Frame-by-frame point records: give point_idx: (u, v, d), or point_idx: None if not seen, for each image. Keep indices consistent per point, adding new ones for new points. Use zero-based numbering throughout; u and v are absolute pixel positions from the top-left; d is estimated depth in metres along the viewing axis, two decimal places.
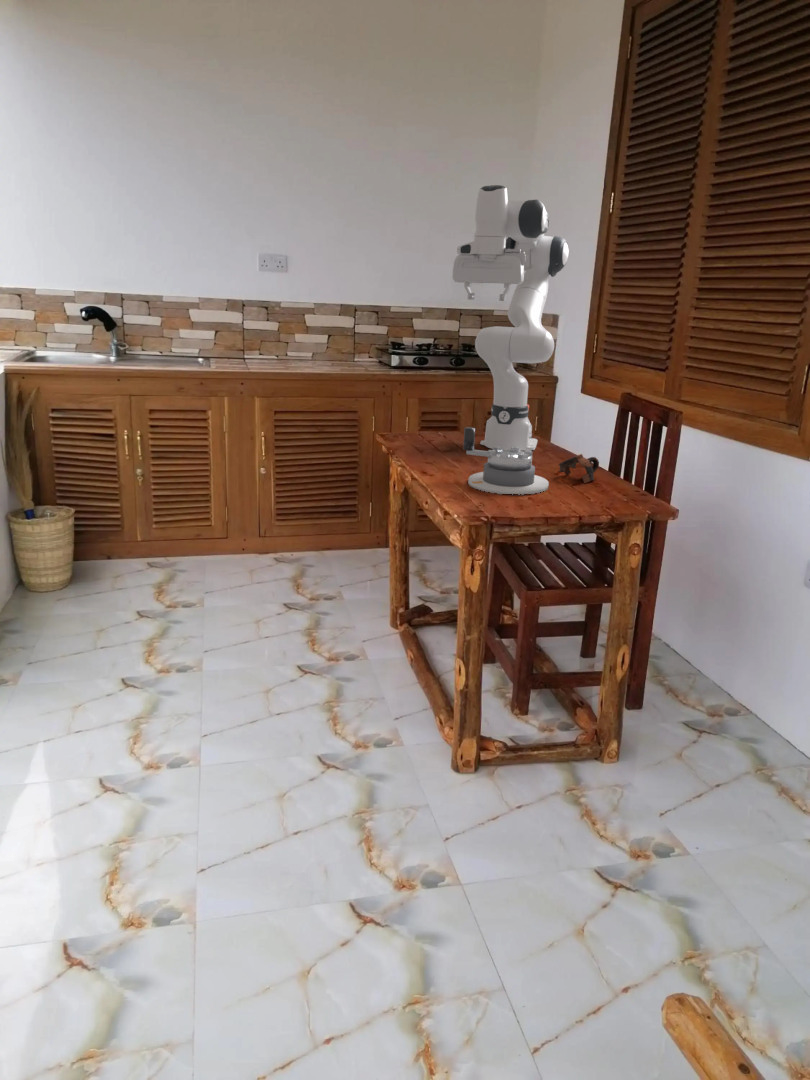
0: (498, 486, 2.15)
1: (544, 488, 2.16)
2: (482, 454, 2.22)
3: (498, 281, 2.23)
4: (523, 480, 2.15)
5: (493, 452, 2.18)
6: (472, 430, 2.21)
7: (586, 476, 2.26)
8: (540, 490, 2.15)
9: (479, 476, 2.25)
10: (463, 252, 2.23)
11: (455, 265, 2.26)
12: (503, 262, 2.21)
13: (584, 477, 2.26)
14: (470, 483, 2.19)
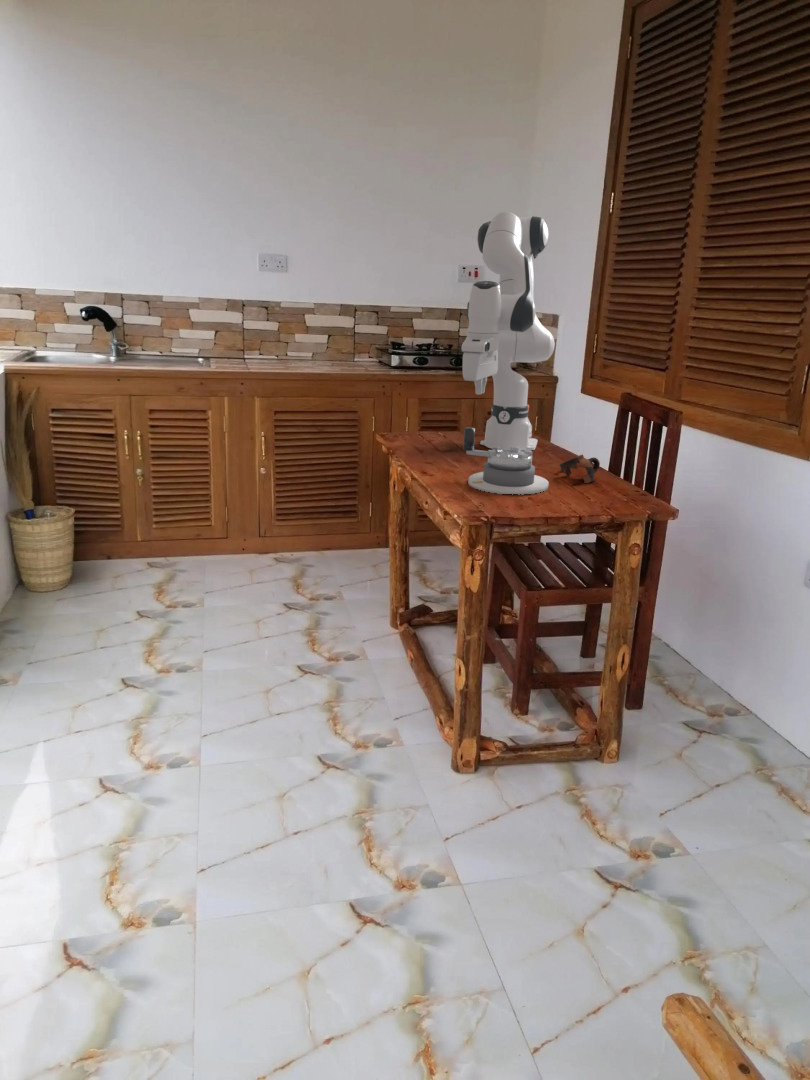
0: (498, 486, 2.15)
1: (544, 488, 2.16)
2: (482, 454, 2.22)
3: (491, 374, 2.26)
4: (523, 480, 2.15)
5: (493, 452, 2.18)
6: (472, 430, 2.21)
7: (587, 477, 2.25)
8: (540, 490, 2.15)
9: (479, 476, 2.25)
10: (486, 350, 2.15)
11: (478, 364, 2.14)
12: (493, 355, 2.26)
13: (585, 478, 2.25)
14: (470, 483, 2.19)
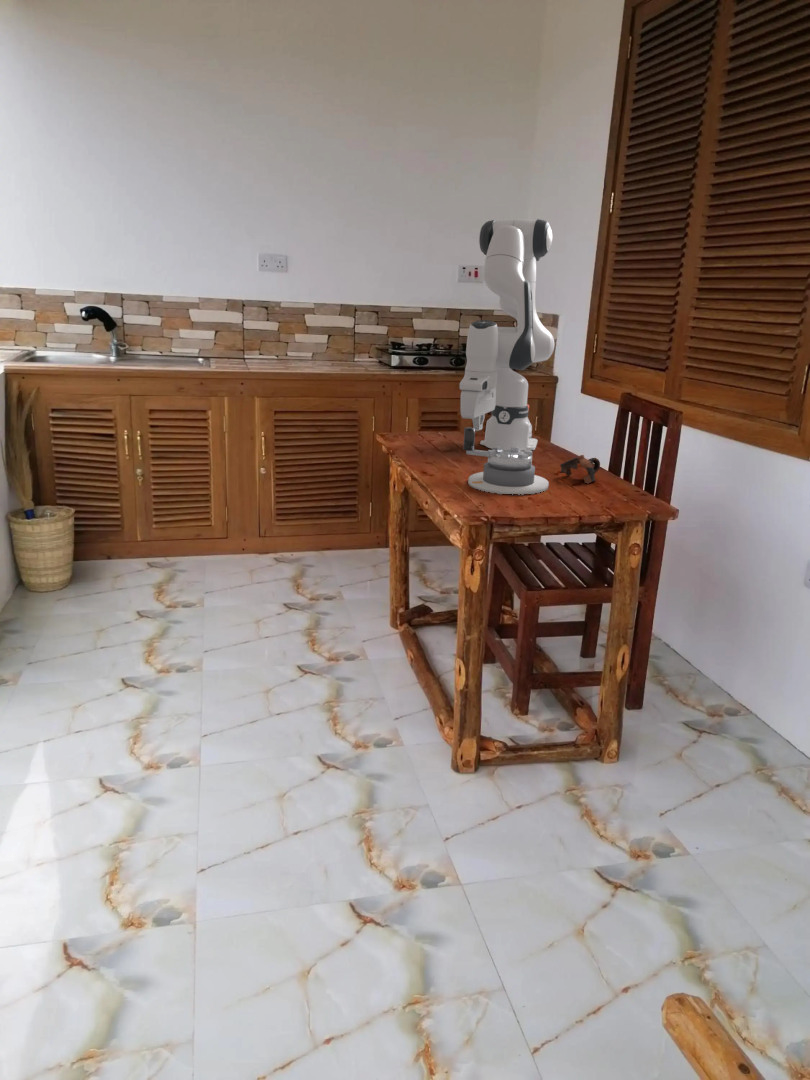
0: (498, 486, 2.15)
1: (544, 488, 2.16)
2: (482, 454, 2.22)
3: (488, 411, 2.29)
4: (523, 480, 2.15)
5: (493, 452, 2.18)
6: (472, 430, 2.21)
7: (587, 477, 2.25)
8: (540, 490, 2.15)
9: (479, 476, 2.25)
10: (483, 389, 2.18)
11: (476, 402, 2.17)
12: (491, 392, 2.29)
13: (586, 478, 2.25)
14: (470, 483, 2.19)
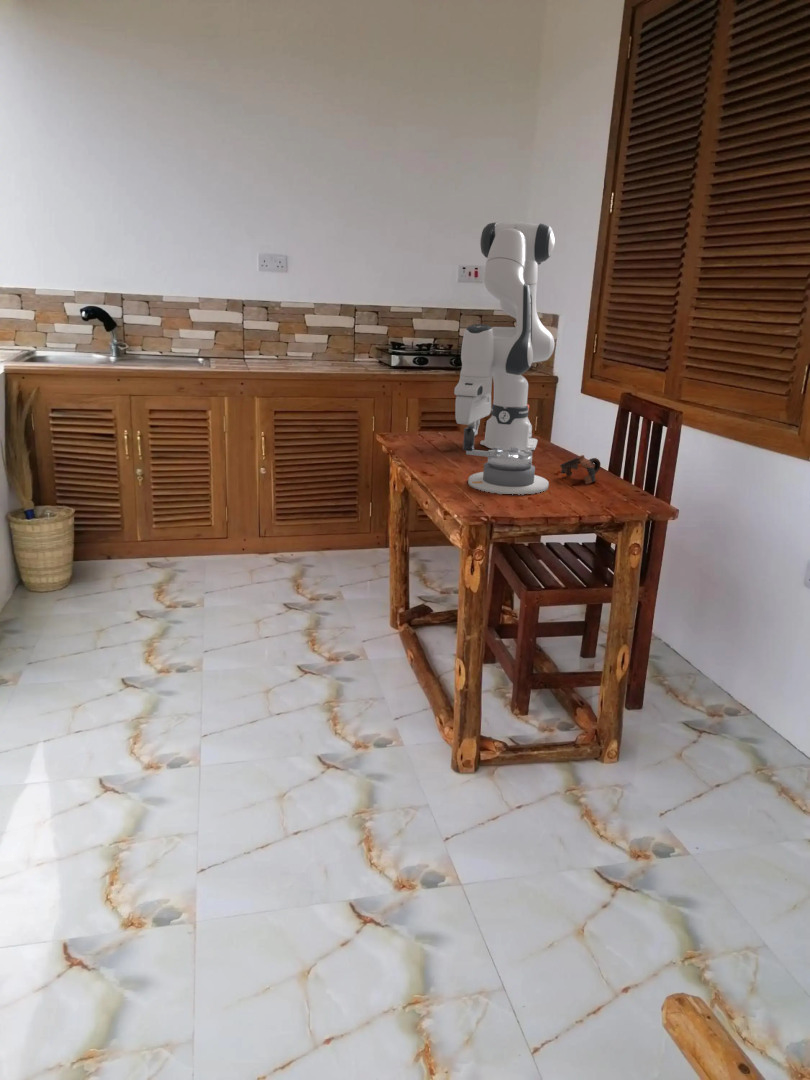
0: (498, 486, 2.15)
1: (544, 488, 2.16)
2: (482, 454, 2.22)
3: (484, 416, 2.26)
4: (523, 480, 2.15)
5: (493, 452, 2.18)
6: (472, 430, 2.21)
7: (588, 477, 2.25)
8: (540, 490, 2.15)
9: (479, 476, 2.25)
10: (478, 394, 2.15)
11: (471, 408, 2.14)
12: (486, 397, 2.26)
13: (586, 478, 2.24)
14: (470, 483, 2.19)
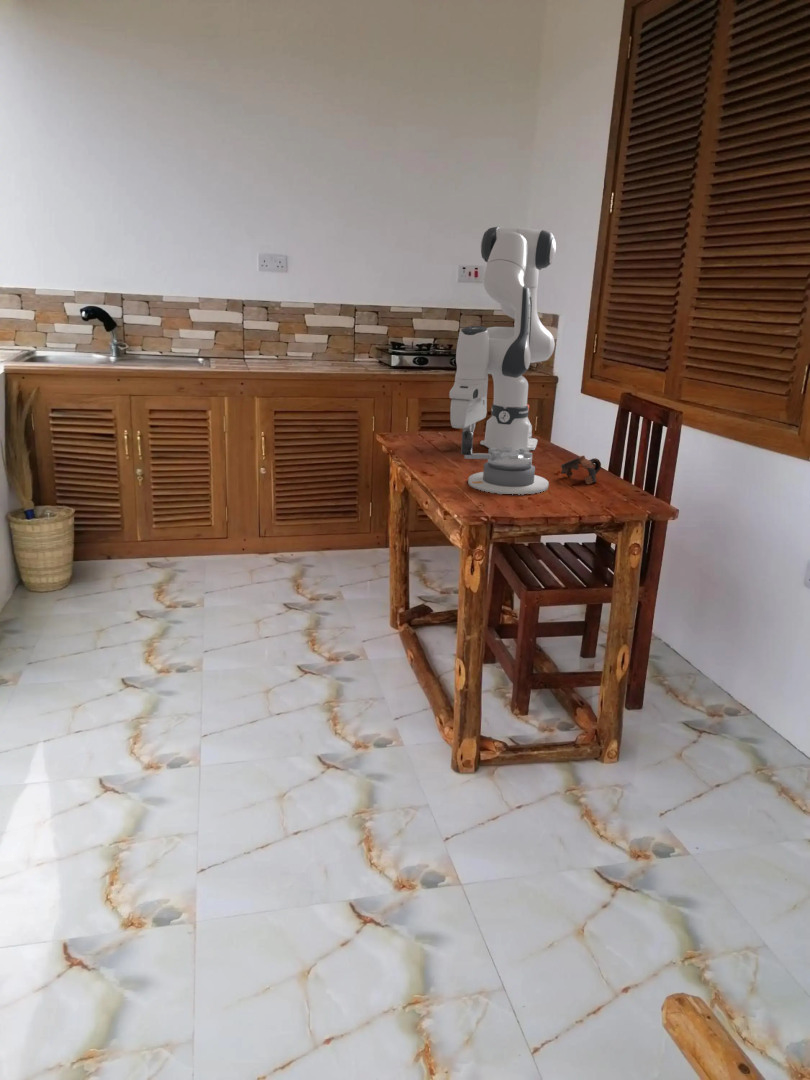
0: (498, 486, 2.15)
1: (544, 488, 2.16)
2: (482, 457, 2.18)
3: (479, 419, 2.22)
4: (523, 480, 2.15)
5: (498, 454, 2.16)
6: (472, 434, 2.16)
7: (589, 478, 2.24)
8: (540, 490, 2.15)
9: (479, 476, 2.25)
10: (474, 397, 2.10)
11: (467, 412, 2.09)
12: (482, 400, 2.21)
13: (587, 479, 2.24)
14: (470, 483, 2.19)
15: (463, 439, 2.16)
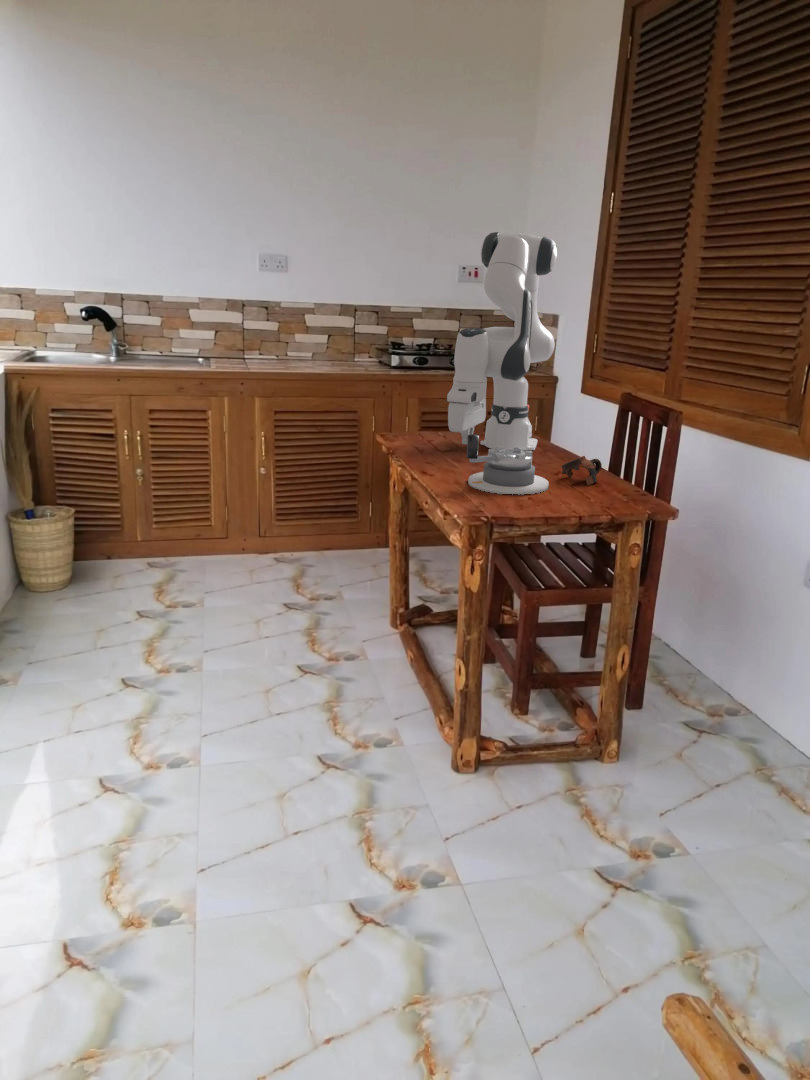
0: (498, 486, 2.15)
1: (544, 488, 2.16)
2: (487, 459, 2.16)
3: (478, 422, 2.18)
4: (523, 480, 2.15)
5: (505, 455, 2.15)
6: (478, 437, 2.12)
7: (589, 478, 2.24)
8: (540, 490, 2.15)
9: (479, 476, 2.25)
10: (472, 401, 2.06)
11: (465, 415, 2.05)
12: (481, 403, 2.17)
13: (588, 479, 2.24)
14: (470, 483, 2.19)
15: (470, 443, 2.12)
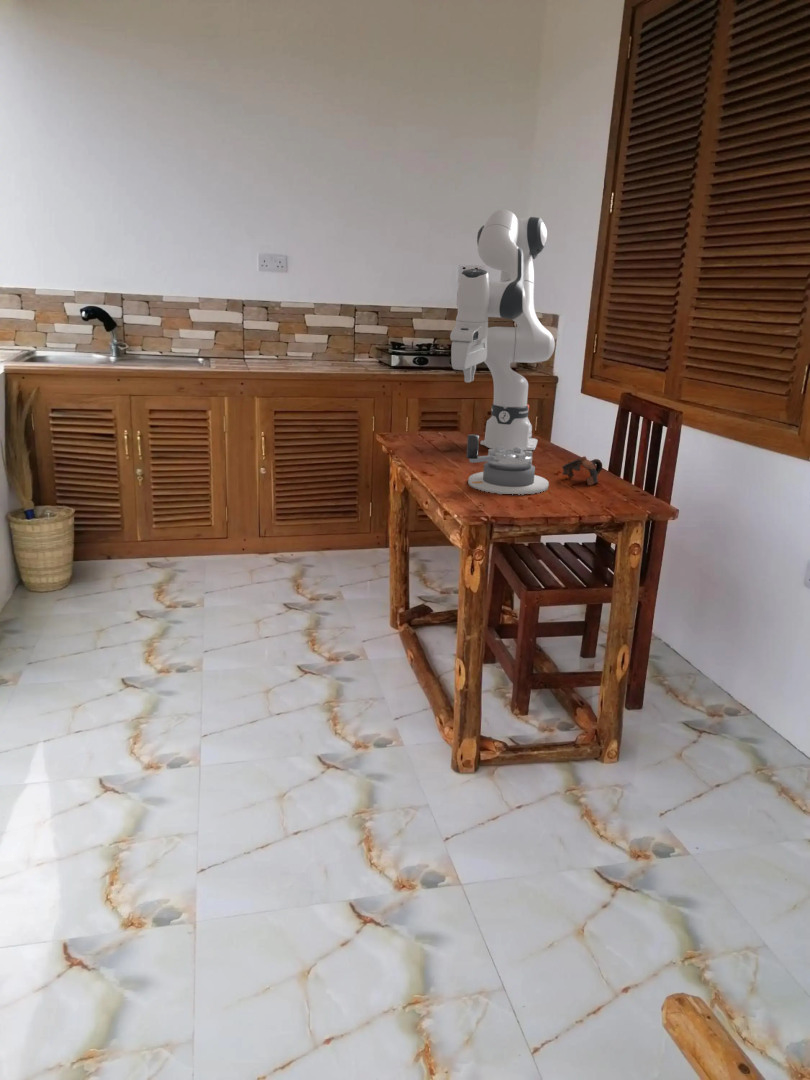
0: (498, 486, 2.15)
1: (544, 488, 2.16)
2: (487, 459, 2.16)
3: (480, 361, 2.27)
4: (523, 480, 2.15)
5: (505, 455, 2.15)
6: (478, 437, 2.12)
7: (590, 479, 2.23)
8: (540, 490, 2.15)
9: (479, 476, 2.25)
10: (474, 339, 2.15)
11: (467, 353, 2.15)
12: (482, 342, 2.26)
13: (589, 480, 2.23)
14: (470, 483, 2.19)
15: (470, 443, 2.12)
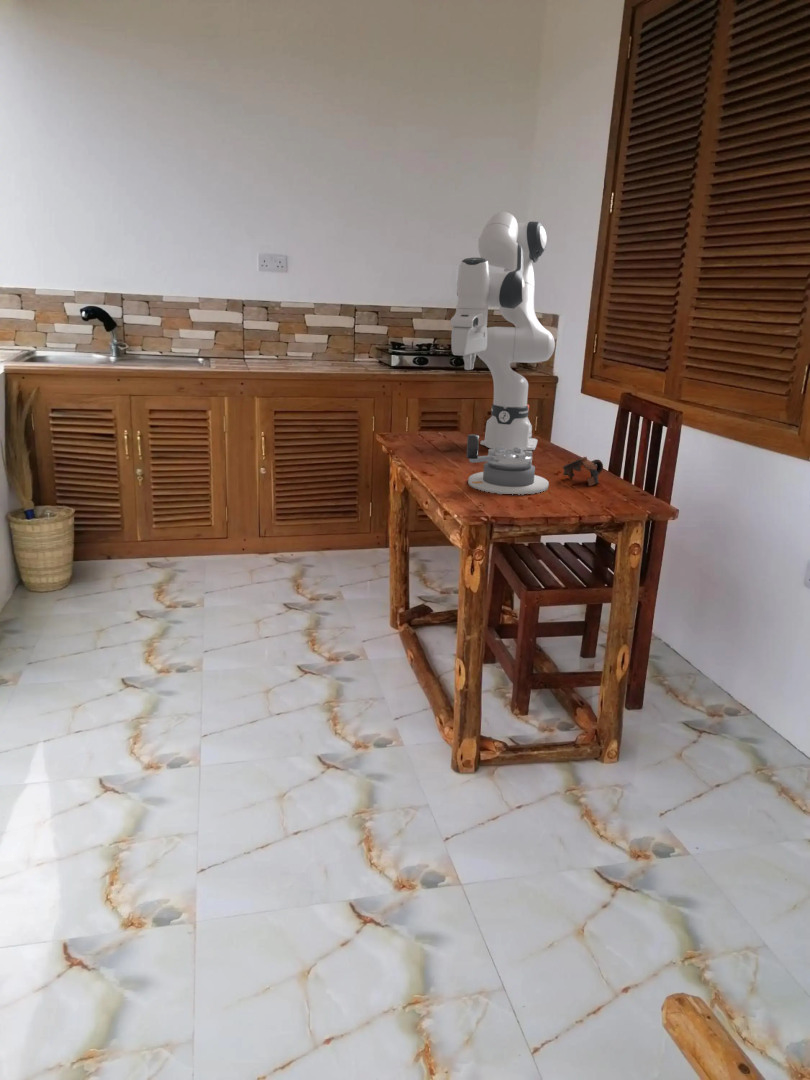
0: (498, 486, 2.15)
1: (544, 488, 2.16)
2: (487, 459, 2.16)
3: (480, 350, 2.30)
4: (523, 480, 2.15)
5: (505, 455, 2.15)
6: (478, 437, 2.12)
7: (591, 479, 2.23)
8: (540, 490, 2.15)
9: (479, 476, 2.25)
10: (474, 325, 2.18)
11: (467, 339, 2.17)
12: (482, 331, 2.29)
13: (590, 480, 2.23)
14: (470, 483, 2.19)
15: (470, 443, 2.12)
